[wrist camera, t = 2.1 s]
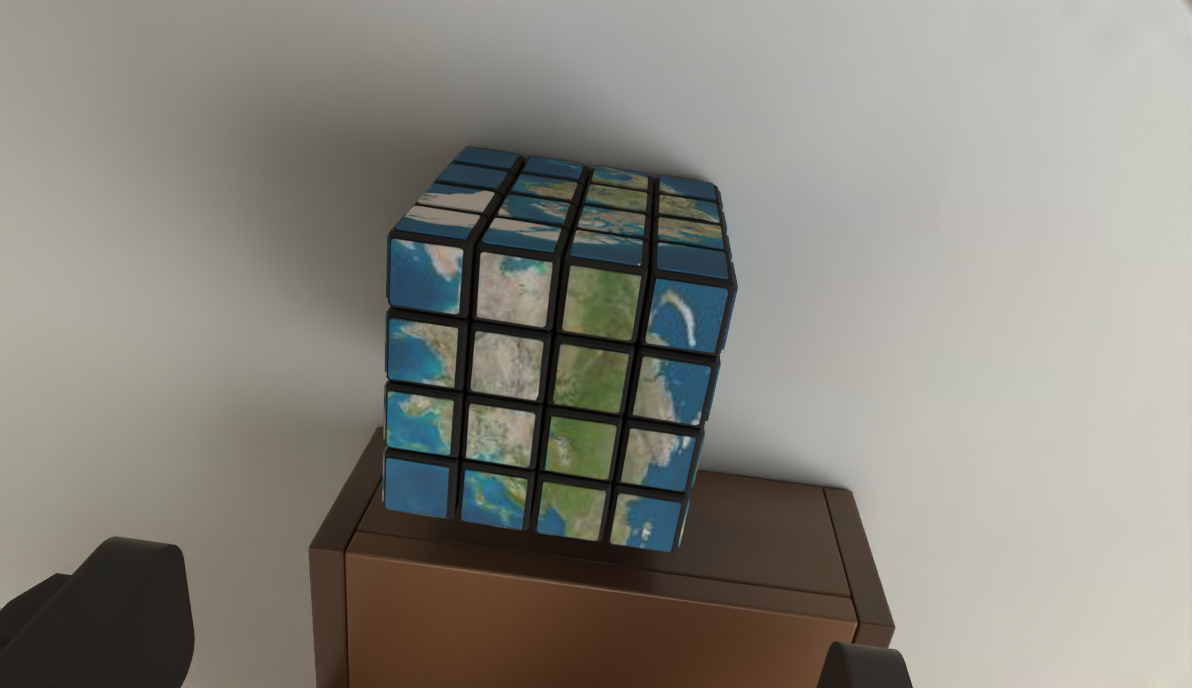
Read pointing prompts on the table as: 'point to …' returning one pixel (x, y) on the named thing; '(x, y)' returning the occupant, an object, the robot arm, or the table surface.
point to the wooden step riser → (593, 594)
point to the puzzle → (554, 347)
